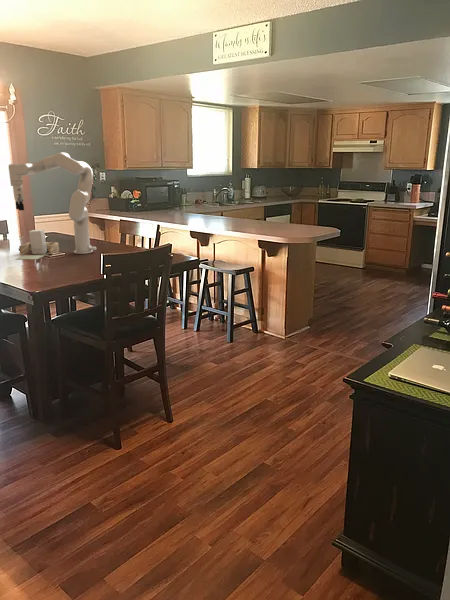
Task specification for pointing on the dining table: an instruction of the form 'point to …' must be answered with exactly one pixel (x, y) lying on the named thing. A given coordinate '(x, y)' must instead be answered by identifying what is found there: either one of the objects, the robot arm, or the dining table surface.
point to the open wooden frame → (50, 246)
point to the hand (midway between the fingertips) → (20, 209)
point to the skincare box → (38, 241)
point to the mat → (30, 257)
